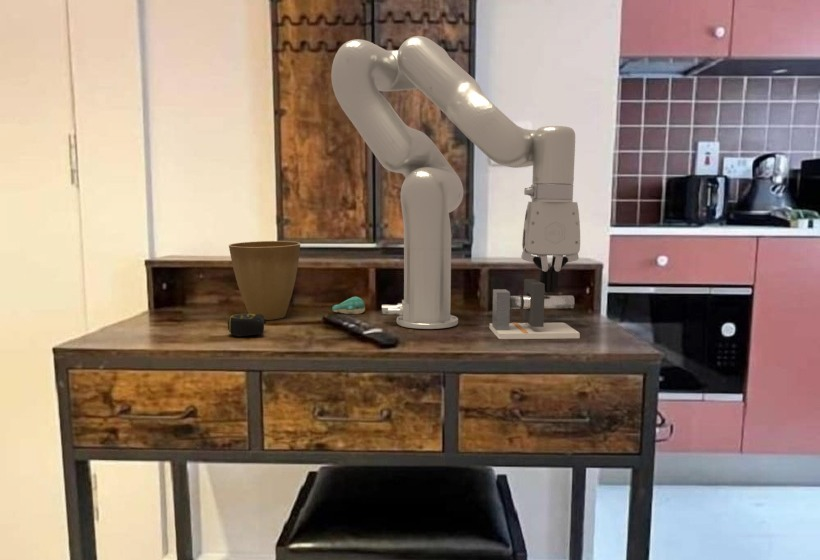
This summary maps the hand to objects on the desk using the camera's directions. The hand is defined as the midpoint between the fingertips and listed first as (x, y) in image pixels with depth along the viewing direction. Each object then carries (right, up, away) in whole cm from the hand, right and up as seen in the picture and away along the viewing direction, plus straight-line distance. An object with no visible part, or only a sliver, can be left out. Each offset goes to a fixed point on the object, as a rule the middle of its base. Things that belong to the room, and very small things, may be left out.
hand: (548, 291), depth 124 cm
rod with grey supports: (-3, -8, +1) cm, 9 cm away
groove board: (-3, -8, +1) cm, 9 cm away
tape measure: (-57, -8, -1) cm, 57 cm away
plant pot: (-57, -6, +17) cm, 60 cm away
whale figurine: (-40, -6, +22) cm, 46 cm away
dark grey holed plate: (-3, -6, 0) cm, 7 cm away
